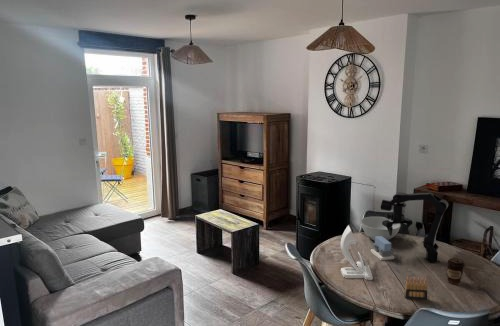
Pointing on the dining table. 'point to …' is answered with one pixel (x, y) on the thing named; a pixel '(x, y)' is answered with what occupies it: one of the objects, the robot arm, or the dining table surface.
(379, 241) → the blue tapered block
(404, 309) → the dining table surface
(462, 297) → the dining table surface
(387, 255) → the white grey bracket mount
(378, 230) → the decorative bowl
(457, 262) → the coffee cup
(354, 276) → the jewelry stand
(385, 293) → the dining table surface
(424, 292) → the ammunition clip
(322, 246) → the dining table surface
